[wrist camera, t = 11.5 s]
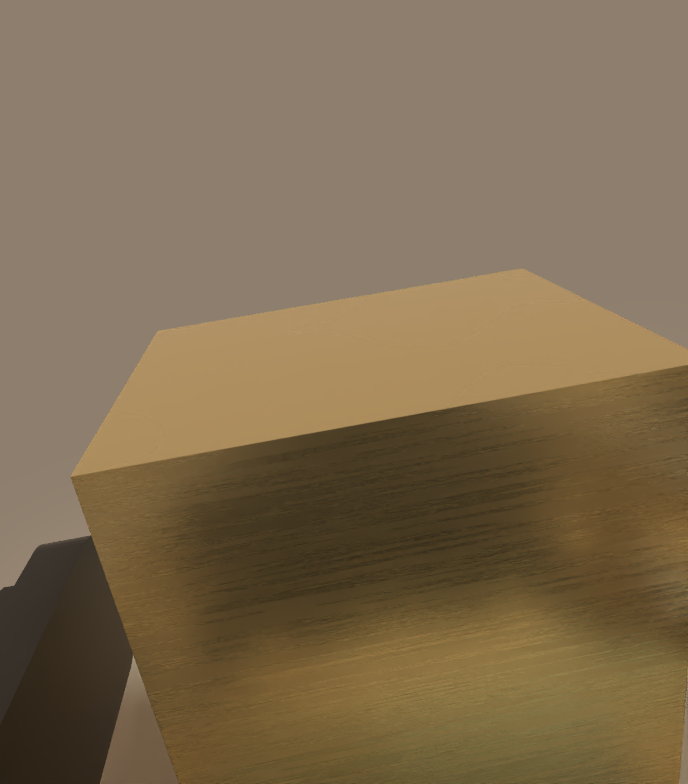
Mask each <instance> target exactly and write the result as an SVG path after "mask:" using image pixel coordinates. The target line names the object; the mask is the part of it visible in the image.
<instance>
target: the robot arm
mask: <svg viewBox="0 0 688 784" xmlns="http://www.w3.org/2000/svg"><path fill="white" fill-rule="evenodd" d="M132 658H133V652H132V649H131V646H130V643H129V641H128V638H127V635H126V632H125V629H124V626H123V624H122V621H121V618H120V615H119V612H118V610H117V607H116V604H115V601H114V598H113V595H112V593H111V590H110V587H109V584H108V581H107V578H106V576H105V573H104V570H103V567H102V564H101V562H100V559H99V556H98V553H97V550H96V547H95V545H94V542H93V539H92V536H86V537H80V538H75V539H69V540H64V541H58V542H53V543H48V544H42V545H40V546H38V547H37V548H36V550H35V551H34V553H33V554H32V556H31V558H30V560H29V561H28V563H27V565H26V566H25V568H24V570H23V572H22V574H21V575H20V577H19V578H18V580H17V582H16V584H15V585H14V586H10V587H5V588H3V589H2V590H0V784H100V780H101V776H102V773H103V769H104V765H105V761H106V758H107V754H108V750H109V746H110V743H111V739H112V735H113V732H114V728H115V724H116V720H117V717H118V713H119V709H120V706H121V702H122V698H123V694H124V691H125V687H126V683H127V679H128V676H129V672H130V668H131V664H132Z"/></svg>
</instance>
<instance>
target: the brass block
mask: <svg viewBox="0 0 688 784" xmlns="http://www.w3.org/2000/svg"><path fill="white" fill-rule="evenodd" d="M71 480H72V483H73V485H74V488H75V491H76V494H77V497H78V499H79V502H80V505H81V508H82V511H83V514H84V516H85V519H86V522H87V525H88V527H89V531H90V533H91V536H92V539H93V542H94V545H95V547H96V550H97V553H98V556H99V559H100V562H101V564H102V567H103V570H104V573H105V576H106V578H107V581H108V584H109V587H110V590H111V593H112V595H113V598H114V601H115V604H116V607H117V610H118V612H119V615H120V618H121V621H122V624H123V626H124V629H125V632H126V635H127V638H128V641H129V643H130V646H131V649H132V652H133V655H134V657H135V660H136V663H137V666H138V669H139V672H140V674H141V677H142V680H143V683H144V686H145V688H146V691H147V694H148V697H149V700H150V703H151V705H152V708H153V711H154V714H155V717H156V720H157V722H158V725H159V728H160V731H161V734H162V736H163V739H164V742H165V745H166V748H167V751H168V753H169V756H170V759H171V762H172V765H173V767H174V770H175V773H176V776H177V779H178V782H179V784H679V776H680V763H681V750H682V736H683V723H684V710H685V696H686V683H687V670H688V349H686V348H684V347H682V346H680V345H678V344H676V343H674V342H672V341H670V340H667V339H665V338H663V337H661V336H659V335H657V334H655V333H653V332H651V331H649V330H647V329H645V328H643V327H641V326H639V325H637V324H635V323H633V322H631V321H629V320H627V319H625V318H623V317H621V316H619V315H616V314H615V313H613V312H610V311H608V310H606V309H604V308H602V307H600V306H598V305H596V304H594V303H592V302H590V301H588V300H586V299H584V298H582V297H580V296H578V295H576V294H574V293H572V292H570V291H568V290H566V289H564V288H562V287H560V286H558V285H556V284H553V283H551V282H549V281H547V280H545V279H543V278H541V277H539V276H537V275H535V274H533V273H531V272H529V271H527V270H525V269H523V268H521V269H516V270H510V271H504V272H498V273H492V274H487V275H481V276H475V277H469V278H464V279H457V280H451V281H446V282H440V283H434V284H428V285H423V286H417V287H411V288H405V289H399V290H393V291H387V292H382V293H376V294H371V295H364V296H358V297H352V298H347V299H341V300H335V301H330V302H323V303H318V304H312V305H306V306H301V307H294V308H289V309H283V310H277V311H271V312H265V313H259V314H254V315H248V316H242V317H236V318H230V319H224V320H219V321H213V322H207V323H202V324H195V325H190V326H184V327H178V328H173V329H166V330H160V331H157V333H156V335H155V337H154V338H153V340H152V342H151V343H150V345H149V347H148V348H147V350H146V351H145V353H144V355H143V356H142V358H141V360H140V361H139V363H138V365H137V366H136V368H135V370H134V371H133V373H132V375H131V376H130V378H129V380H128V382H127V383H126V385H125V386H124V388H123V390H122V392H121V393H120V395H119V396H118V398H117V400H116V402H115V403H114V405H113V406H112V408H111V410H110V412H109V413H108V415H107V417H106V418H105V420H104V422H103V423H102V425H101V427H100V428H99V430H98V432H97V433H96V435H95V437H94V438H93V440H92V442H91V443H90V445H89V447H88V448H87V450H86V452H85V453H84V455H83V457H82V458H81V460H80V462H79V463H78V465H77V467H76V468H75V470H74V472H73V474H72V475H71Z"/></svg>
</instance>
